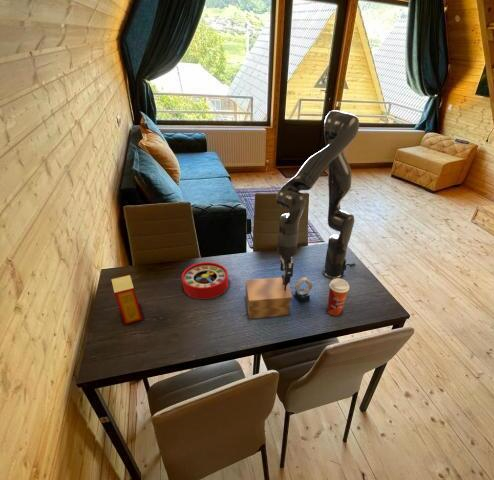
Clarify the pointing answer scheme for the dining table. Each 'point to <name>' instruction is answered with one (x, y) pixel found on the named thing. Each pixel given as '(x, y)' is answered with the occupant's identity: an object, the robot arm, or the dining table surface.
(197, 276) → the toy clock
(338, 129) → the robot arm
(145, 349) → the dining table surface
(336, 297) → the coffee cup
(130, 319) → the baking soda box
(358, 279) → the dining table surface
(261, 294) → the lid
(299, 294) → the watch
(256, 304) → the chest
